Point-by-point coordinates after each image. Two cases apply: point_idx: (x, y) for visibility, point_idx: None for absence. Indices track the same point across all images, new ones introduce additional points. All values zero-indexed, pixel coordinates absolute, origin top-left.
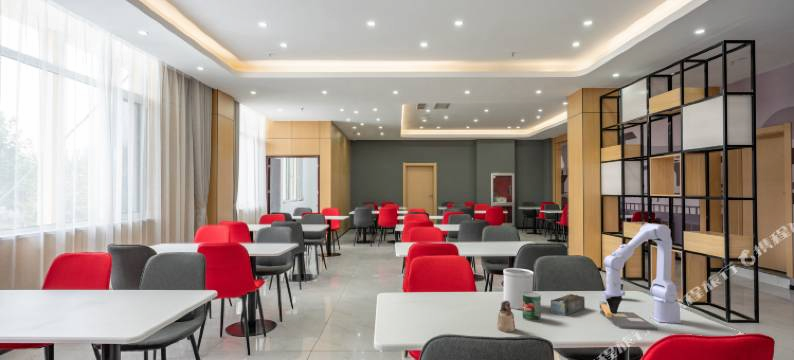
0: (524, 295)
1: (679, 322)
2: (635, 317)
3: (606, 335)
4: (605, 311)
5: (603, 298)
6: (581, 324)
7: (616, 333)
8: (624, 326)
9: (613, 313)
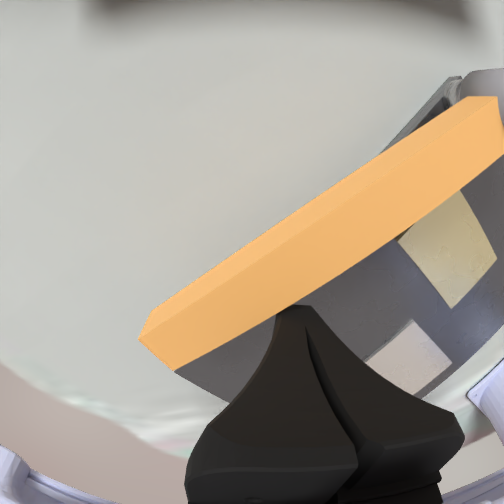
0: None
1: (487, 416)
2: (466, 334)
3: (19, 348)
4: (226, 273)
5: (2, 463)
6: (3, 169)
7: (80, 371)
8: (201, 384)
9: (272, 335)
